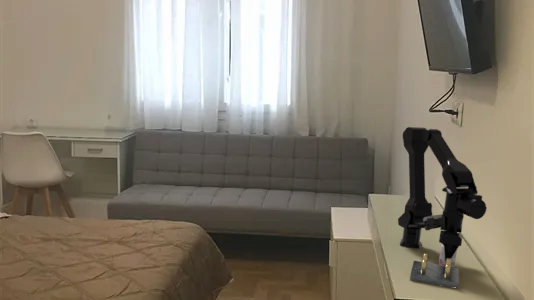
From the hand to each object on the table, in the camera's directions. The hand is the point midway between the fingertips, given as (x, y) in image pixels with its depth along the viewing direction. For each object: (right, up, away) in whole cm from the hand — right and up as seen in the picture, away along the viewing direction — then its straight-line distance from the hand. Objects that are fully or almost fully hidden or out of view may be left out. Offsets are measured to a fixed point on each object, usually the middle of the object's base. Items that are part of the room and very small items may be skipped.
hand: (447, 258), depth 181 cm
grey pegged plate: (-7, -3, -10) cm, 13 cm away
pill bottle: (0, -2, 0) cm, 2 cm away
